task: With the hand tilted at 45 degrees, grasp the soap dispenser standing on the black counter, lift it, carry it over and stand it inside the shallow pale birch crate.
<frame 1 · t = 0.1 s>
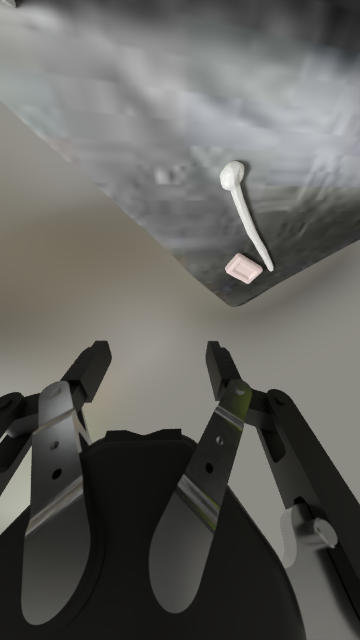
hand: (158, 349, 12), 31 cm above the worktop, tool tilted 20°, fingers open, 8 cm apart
white ball-headed stick: (255, 227, 34), on the worktop
soap bar: (242, 266, 42), on the worktop
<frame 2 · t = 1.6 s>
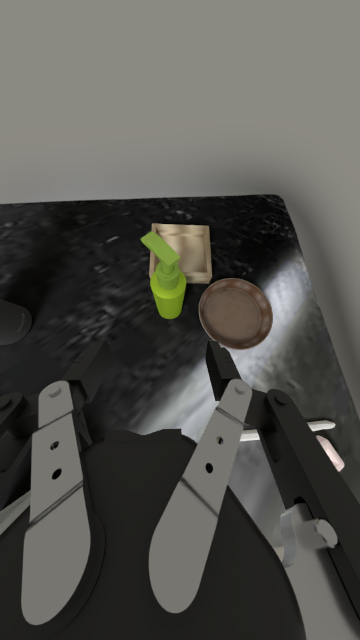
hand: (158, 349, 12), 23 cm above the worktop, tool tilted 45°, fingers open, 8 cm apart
plant saucer: (231, 315, 38), on the worktop
supplement box: (35, 517, 26), on the worktop
white ball-headed stick: (269, 424, 32), on the worktop
soap bar: (309, 458, 31), on the worktop
soap dispenser: (168, 306, 37), on the worktop
birch crate: (180, 258, 40), on the worktop
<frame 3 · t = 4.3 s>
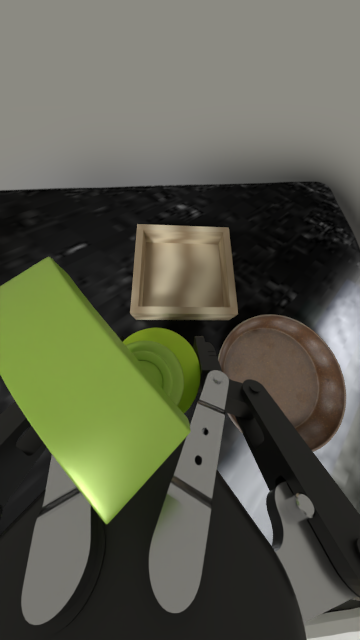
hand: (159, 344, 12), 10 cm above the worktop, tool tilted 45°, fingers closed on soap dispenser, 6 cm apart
plant saucer: (267, 374, 23), on the worktop
white ball-headed stick: (353, 592, 17), on the worktop
soap dispenser: (164, 361, 22), on the worktop, touching gripper
birch crate: (182, 278, 26), on the worktop
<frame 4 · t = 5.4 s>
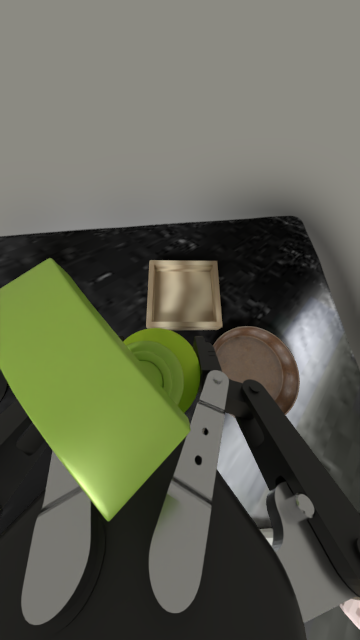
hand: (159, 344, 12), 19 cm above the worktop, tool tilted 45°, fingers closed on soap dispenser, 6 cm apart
plant saucer: (245, 370, 31), on the worktop
soap bar: (354, 572, 24), on the worktop
soap dispenser: (164, 361, 22), point 9 cm above the worktop, touching gripper
birch crate: (183, 298, 34), on the worktop
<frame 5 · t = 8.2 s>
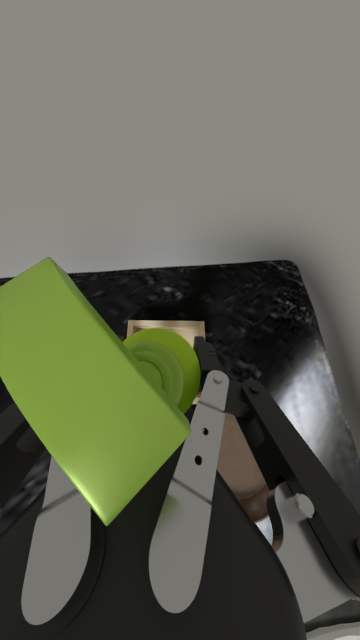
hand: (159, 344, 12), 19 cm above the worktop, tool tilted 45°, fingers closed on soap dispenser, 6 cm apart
plant saucer: (233, 445, 28), on the worktop
white ball-headed stick: (292, 622, 23), on the worktop
soap dispenser: (163, 361, 22), point 9 cm above the worktop, touching gripper
birch crate: (166, 359, 31), on the worktop
when the fingers open (13 cm above the worktop, at t = 9.9 s): soap dispenser drops 1 cm, resting on birch crate.
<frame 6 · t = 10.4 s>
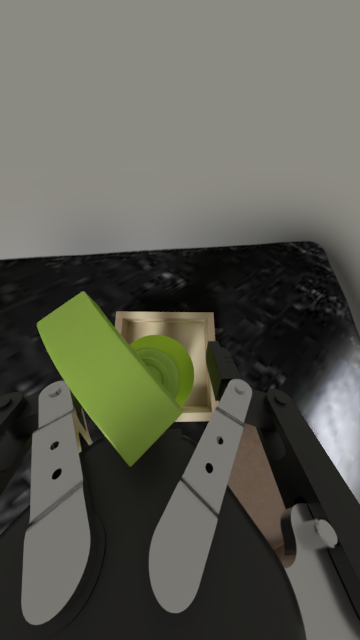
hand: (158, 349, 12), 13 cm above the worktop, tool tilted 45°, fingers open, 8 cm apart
plant saucer: (252, 474, 22), on the worktop
soap dispenser: (162, 362, 24), point 1 cm above the worktop, touching birch crate
birch crate: (165, 361, 24), on the worktop
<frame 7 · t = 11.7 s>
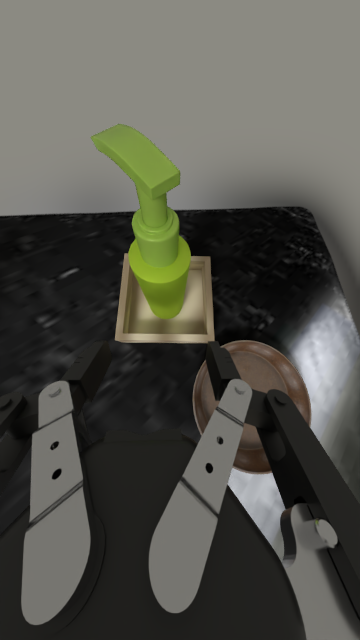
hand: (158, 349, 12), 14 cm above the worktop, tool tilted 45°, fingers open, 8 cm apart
plant saucer: (242, 394, 25), on the worktop
soap dispenser: (164, 301, 27), point 1 cm above the worktop, touching birch crate
birch crate: (167, 302, 27), on the worktop
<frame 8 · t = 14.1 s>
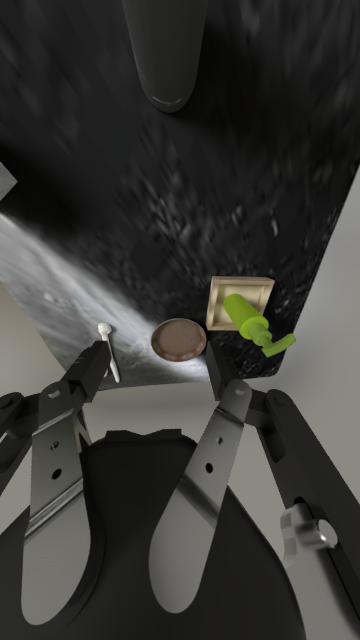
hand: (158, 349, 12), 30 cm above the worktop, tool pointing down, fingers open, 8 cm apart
plant saucer: (178, 336, 50), on the worktop
white ball-headed stick: (114, 354, 53), on the worktop
soap dispenser: (234, 301, 42), point 1 cm above the worktop, touching birch crate
birch crate: (233, 302, 43), on the worktop
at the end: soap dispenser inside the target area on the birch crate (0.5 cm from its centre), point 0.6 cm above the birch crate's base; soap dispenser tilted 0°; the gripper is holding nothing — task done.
